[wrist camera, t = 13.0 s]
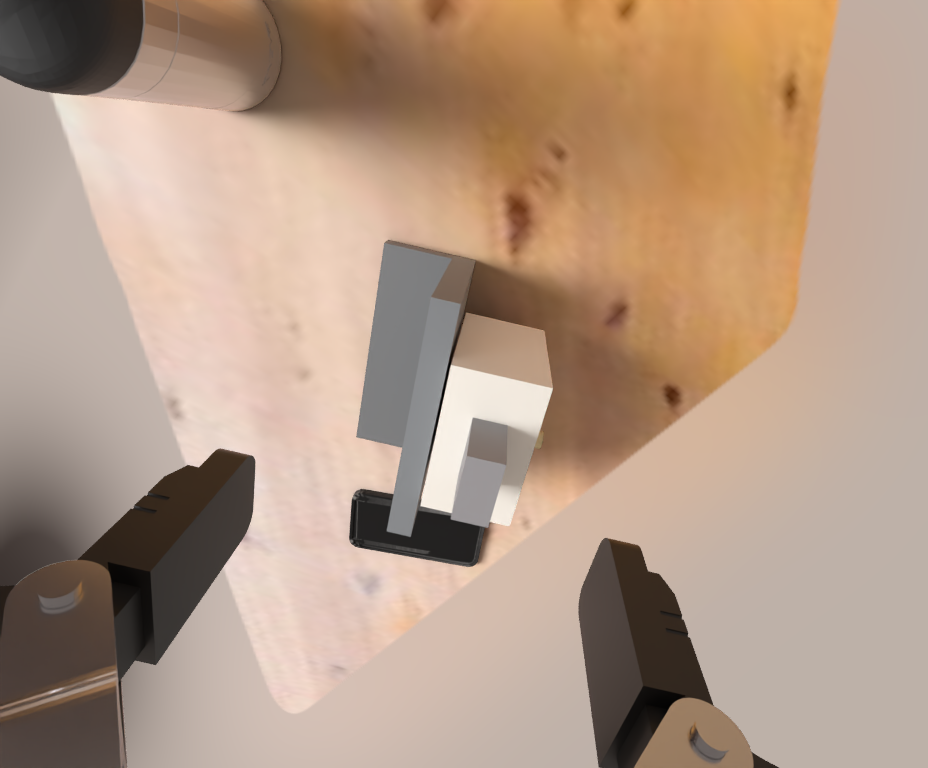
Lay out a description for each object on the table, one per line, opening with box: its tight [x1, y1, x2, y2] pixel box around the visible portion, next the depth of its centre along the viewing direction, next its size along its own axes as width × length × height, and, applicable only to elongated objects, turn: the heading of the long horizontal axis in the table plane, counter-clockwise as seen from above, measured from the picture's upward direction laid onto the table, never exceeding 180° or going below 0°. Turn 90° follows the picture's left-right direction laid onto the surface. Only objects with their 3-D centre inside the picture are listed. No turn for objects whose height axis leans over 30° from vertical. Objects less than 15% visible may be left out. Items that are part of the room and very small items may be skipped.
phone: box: [349, 489, 485, 567], centre depth 60 cm, size 8×1×15 cm
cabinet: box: [420, 312, 553, 528], centre depth 41 cm, size 8×12×17 cm, turn 168°
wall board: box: [356, 240, 476, 537], centre depth 45 cm, size 12×20×14 cm, turn 168°
